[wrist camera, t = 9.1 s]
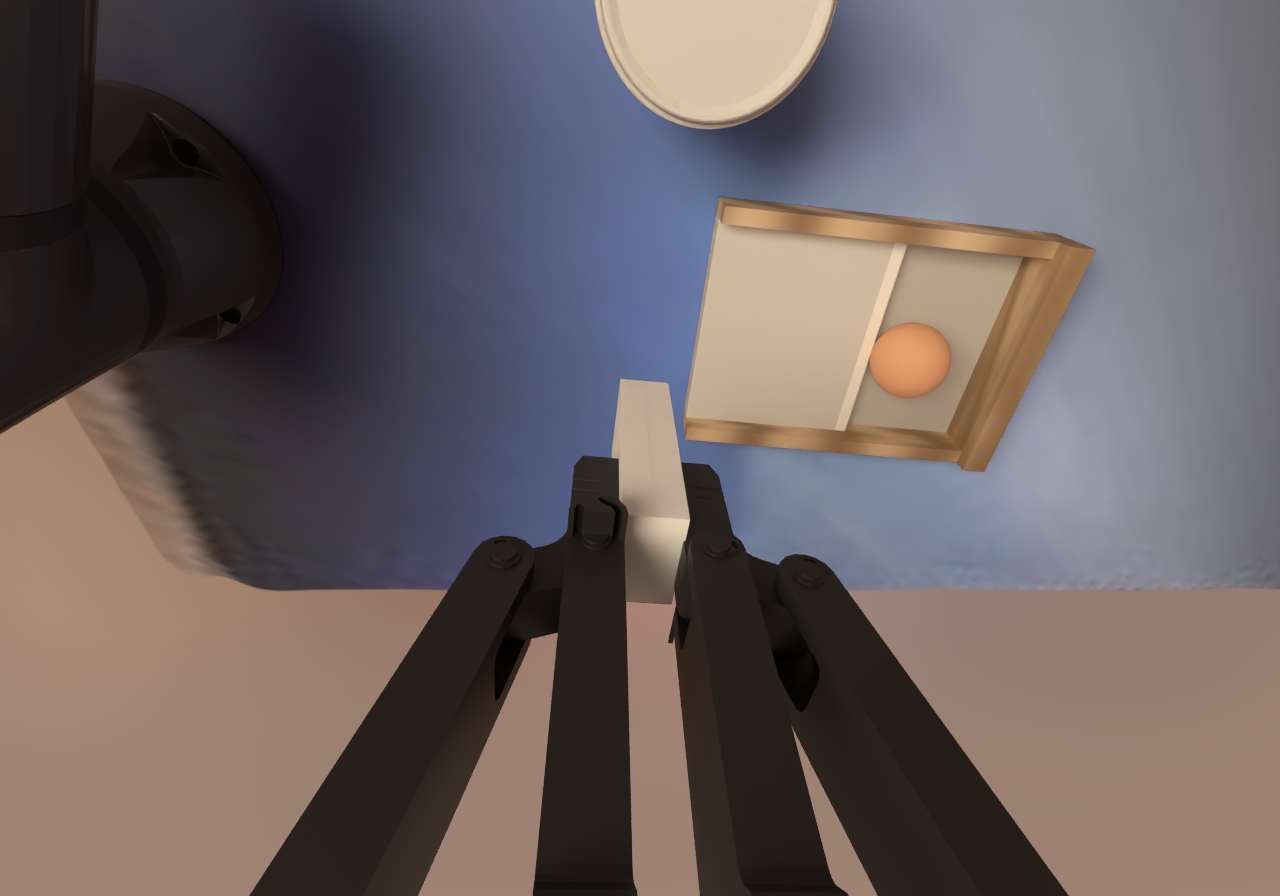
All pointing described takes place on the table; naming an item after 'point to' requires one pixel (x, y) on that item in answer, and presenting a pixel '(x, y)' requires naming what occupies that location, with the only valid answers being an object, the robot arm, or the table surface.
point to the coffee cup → (713, 54)
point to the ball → (910, 360)
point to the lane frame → (1002, 361)
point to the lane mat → (833, 326)
